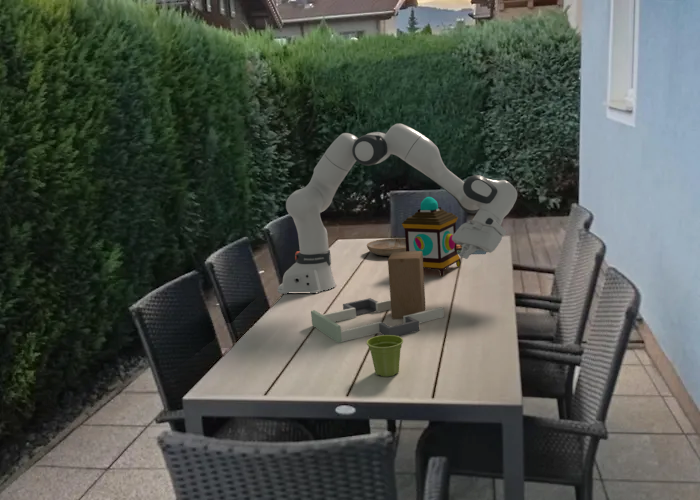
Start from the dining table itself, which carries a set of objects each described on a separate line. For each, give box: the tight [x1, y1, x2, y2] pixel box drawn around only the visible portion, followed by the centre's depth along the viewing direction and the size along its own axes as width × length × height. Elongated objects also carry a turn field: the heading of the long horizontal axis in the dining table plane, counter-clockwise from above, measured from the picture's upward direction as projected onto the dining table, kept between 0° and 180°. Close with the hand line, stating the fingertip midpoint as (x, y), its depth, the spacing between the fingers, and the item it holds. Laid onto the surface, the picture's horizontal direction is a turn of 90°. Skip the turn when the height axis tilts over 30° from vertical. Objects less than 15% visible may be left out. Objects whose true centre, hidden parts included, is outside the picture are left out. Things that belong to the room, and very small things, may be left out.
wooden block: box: [387, 251, 426, 320], centre depth 221 cm, size 10×10×20 cm
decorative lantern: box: [401, 196, 462, 277], centre depth 274 cm, size 20×20×30 cm
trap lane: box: [310, 299, 445, 344], centre depth 218 cm, size 37×19×5 cm, turn 116°
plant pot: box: [366, 334, 404, 378], centre depth 177 cm, size 9×9×9 cm
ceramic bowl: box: [366, 237, 406, 257], centre depth 312 cm, size 23×24×5 cm
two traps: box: [342, 297, 420, 337], centre depth 219 cm, size 10×31×3 cm, turn 26°
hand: (462, 257), depth 229 cm, fingers closed
